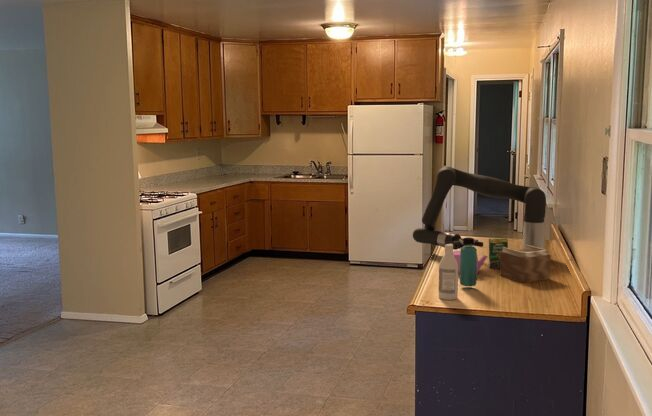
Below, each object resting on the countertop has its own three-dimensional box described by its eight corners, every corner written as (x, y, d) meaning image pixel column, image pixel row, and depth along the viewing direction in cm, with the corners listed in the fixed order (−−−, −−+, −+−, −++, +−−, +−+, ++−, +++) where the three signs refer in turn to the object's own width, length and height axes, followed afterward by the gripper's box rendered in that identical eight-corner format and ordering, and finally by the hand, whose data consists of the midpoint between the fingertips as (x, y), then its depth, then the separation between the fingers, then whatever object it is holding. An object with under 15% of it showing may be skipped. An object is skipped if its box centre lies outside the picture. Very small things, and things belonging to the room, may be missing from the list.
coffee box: (488, 268, 282) (489, 239, 280) (488, 266, 285) (488, 238, 283) (507, 268, 281) (508, 239, 279) (506, 267, 283) (507, 238, 282)
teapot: (486, 270, 278) (486, 247, 277) (487, 276, 268) (488, 252, 267) (444, 269, 281) (444, 246, 280) (444, 274, 271) (444, 251, 270)
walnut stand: (525, 271, 275) (526, 244, 274) (549, 278, 263) (550, 250, 261) (499, 275, 269) (500, 247, 268) (522, 282, 257) (524, 253, 255)
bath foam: (444, 294, 241) (445, 242, 238) (460, 297, 236) (462, 244, 233) (434, 298, 235) (435, 245, 233) (451, 301, 231) (452, 247, 228)
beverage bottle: (476, 290, 245) (478, 239, 243) (459, 289, 247) (460, 239, 244) (476, 286, 252) (477, 236, 249) (459, 285, 253) (460, 236, 250)
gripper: (439, 234, 297) (467, 239, 285) (459, 231, 306) (487, 236, 294) (439, 250, 298) (466, 256, 286) (458, 246, 307) (486, 251, 295)
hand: (477, 245), depth 290 cm, fingers open, 8 cm apart
